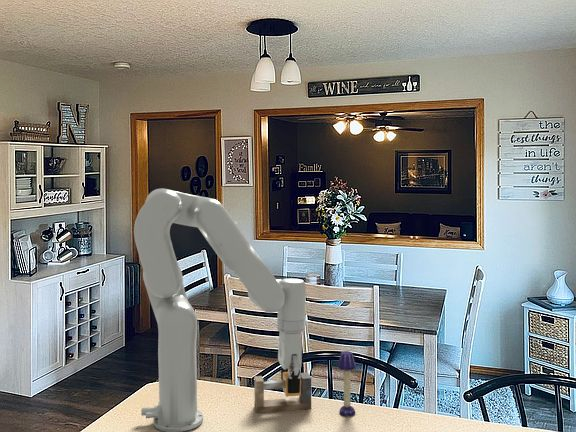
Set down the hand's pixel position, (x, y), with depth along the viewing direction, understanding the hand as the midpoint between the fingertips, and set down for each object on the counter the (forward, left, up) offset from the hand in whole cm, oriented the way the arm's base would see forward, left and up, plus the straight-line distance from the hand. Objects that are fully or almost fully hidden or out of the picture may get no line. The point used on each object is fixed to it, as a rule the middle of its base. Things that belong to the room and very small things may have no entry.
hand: (290, 386), depth 155 cm
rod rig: (-2, 0, -6) cm, 6 cm away
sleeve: (0, 0, -2) cm, 2 cm away
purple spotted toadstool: (+14, -7, -6) cm, 17 cm away
